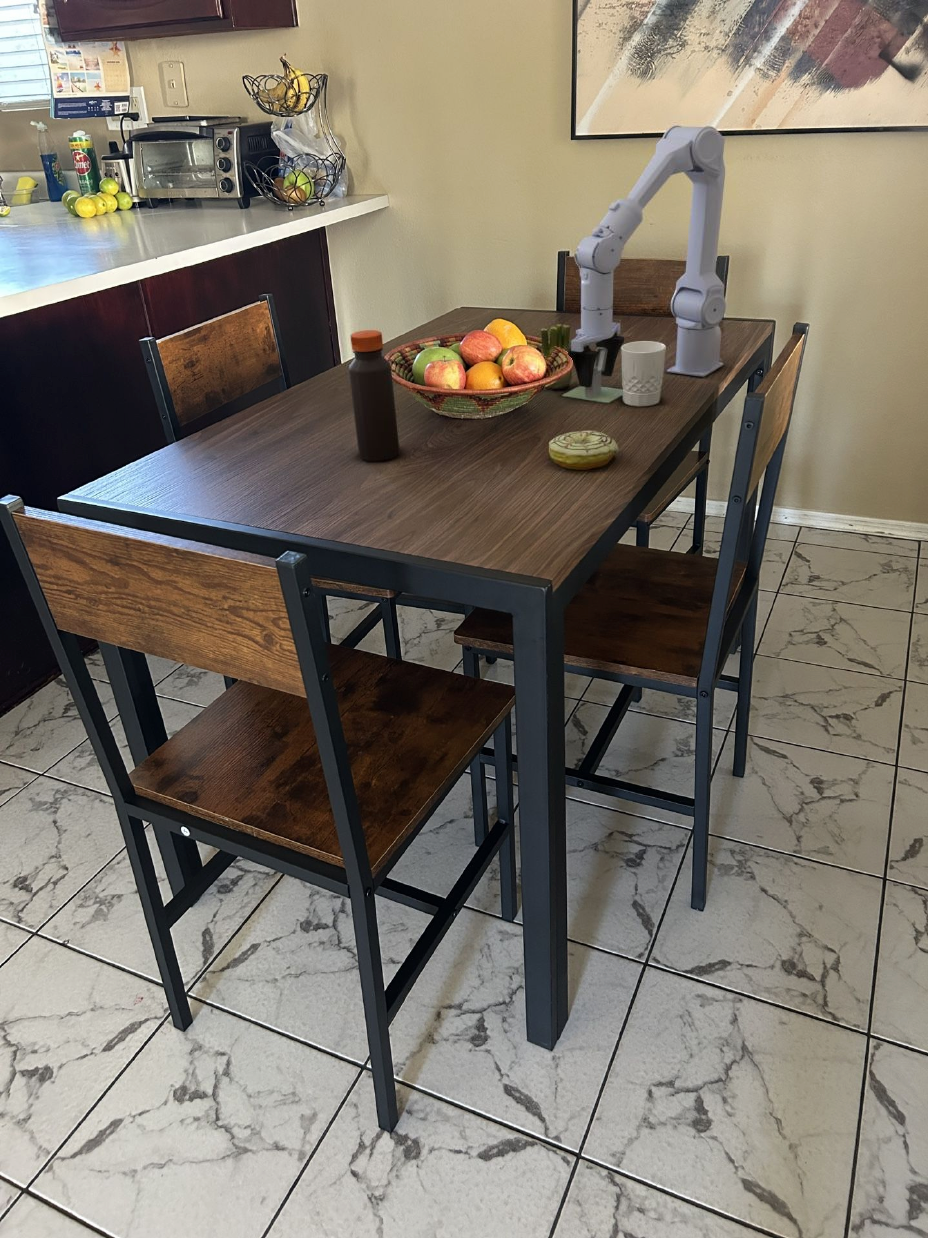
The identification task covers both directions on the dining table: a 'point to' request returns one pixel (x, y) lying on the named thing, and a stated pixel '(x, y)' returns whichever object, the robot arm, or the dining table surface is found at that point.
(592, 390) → the lighter
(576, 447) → the decorated donut
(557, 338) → the fennel bulb
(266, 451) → the dining table surface
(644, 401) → the white cup
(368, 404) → the bottle
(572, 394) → the sticky note
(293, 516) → the dining table surface
